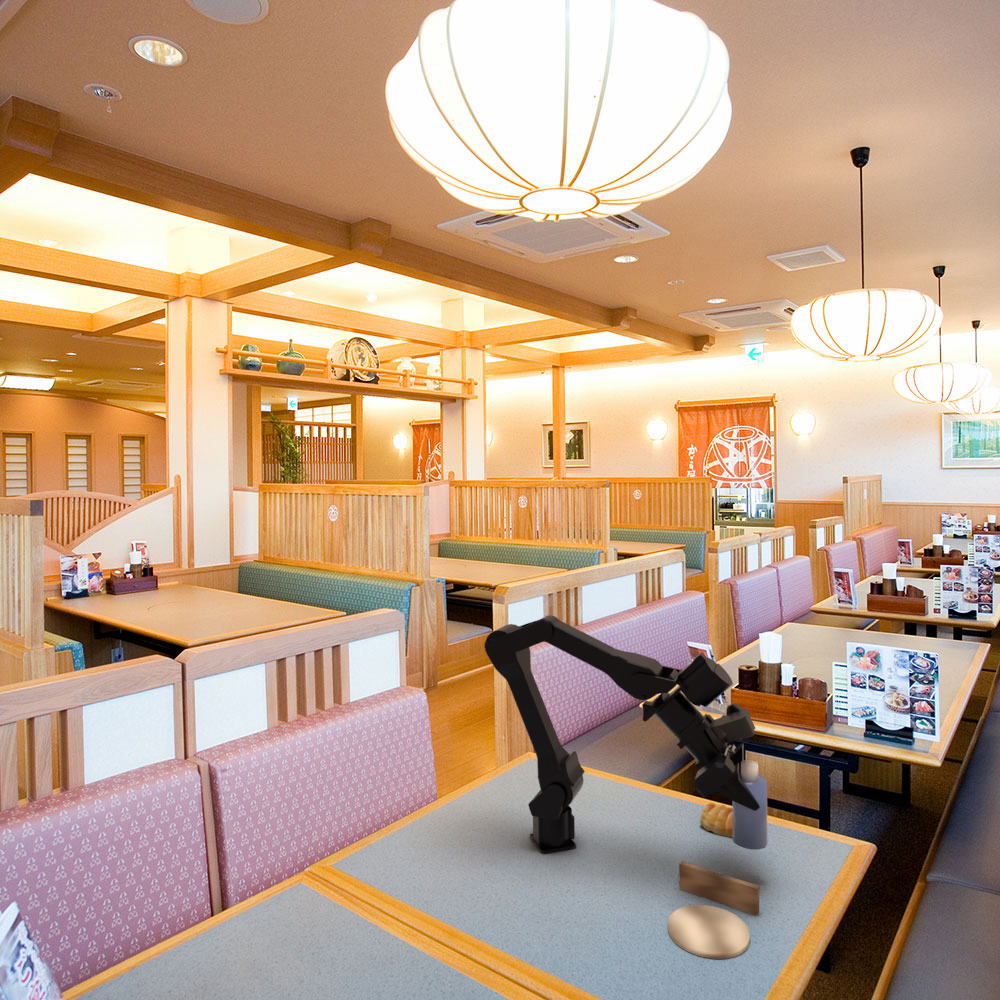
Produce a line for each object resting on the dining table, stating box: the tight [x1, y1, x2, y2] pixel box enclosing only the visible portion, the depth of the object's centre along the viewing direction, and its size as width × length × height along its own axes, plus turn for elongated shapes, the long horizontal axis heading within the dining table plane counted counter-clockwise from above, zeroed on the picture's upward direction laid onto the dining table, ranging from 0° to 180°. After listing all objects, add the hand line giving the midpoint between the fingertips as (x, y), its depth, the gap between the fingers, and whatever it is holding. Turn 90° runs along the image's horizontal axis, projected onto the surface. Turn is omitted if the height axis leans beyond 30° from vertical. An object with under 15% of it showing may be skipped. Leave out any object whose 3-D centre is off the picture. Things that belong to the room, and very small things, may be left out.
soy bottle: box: [732, 759, 768, 850], centre depth 116 cm, size 5×5×12 cm
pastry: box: [699, 802, 733, 838], centre depth 133 cm, size 9×7×4 cm
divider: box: [678, 860, 760, 917], centre depth 111 cm, size 12×1×4 cm, turn 52°
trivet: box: [667, 904, 751, 960], centre depth 103 cm, size 11×11×1 cm
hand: (758, 801), depth 115 cm, fingers closed on soy bottle, 5 cm apart
